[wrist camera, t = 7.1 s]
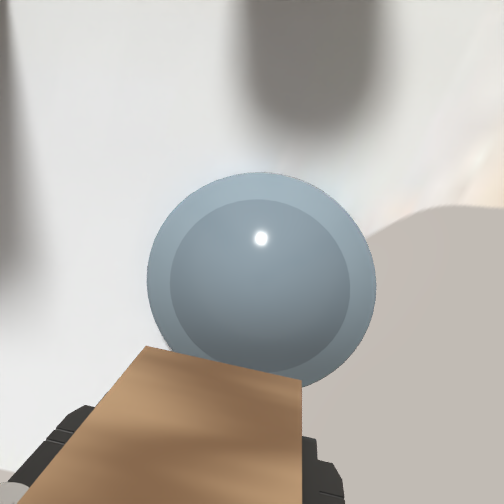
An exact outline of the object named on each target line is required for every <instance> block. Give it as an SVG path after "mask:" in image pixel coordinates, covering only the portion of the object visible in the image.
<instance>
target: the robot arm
mask: <svg viewBox="0 0 504 504" xmlns="http://www.w3.org/2000/svg"><path fill="white" fill-rule="evenodd" d="M107 393H108V392H107ZM107 393H106V394H107ZM106 394H105V395H106ZM103 398H104V397H103ZM103 398H102V399H103ZM102 399H101V400H102ZM98 404H99V403H98ZM98 404H97V405H98ZM97 405H96V406H97ZM94 408H95V407H92V406H87V405H84V406H82V407H81V408H79V409H77V410H75V411H73V412H72V413H70V414H68V415H67V416H66V417H65V418H64V419H63V421H62V422H61V423H60V424H59V425H58V426H57V427H56V430H54V431H53V432H52V433H51V434H50V435H49V436H48V437H47V439H46V441H44V442H43V443H42V444H41V445H40V446H39V447H38V448H37V449H36V451H35V452H34V453H33V454H32V455H31V456H30V457H29V458H28V459H27V461H26V462H25V463H24V464H23V465H22V466H21V467H20V468H19V469H18V470H17V472H16V473H15V474H14V475H13V476H12V477H11V478H10V479H9V480H8V482H5V483H0V504H17V503H18V501H19V500H20V499H21V498H22V496H23V495H24V494H25V493H26V492H27V490H28V489H29V488H30V487H31V485H32V484H33V483H34V482H35V481H36V479H37V478H38V477H39V476H40V474H41V473H42V472H43V471H44V470H45V468H46V467H47V466H48V465H49V463H50V462H51V461H52V460H53V459H54V457H55V456H56V455H57V454H58V452H59V451H60V450H61V449H62V448H63V446H64V445H65V444H66V443H67V441H68V440H69V439H70V438H71V437H72V435H73V434H74V433H75V432H76V430H77V429H78V428H79V427H80V426H81V424H82V423H83V422H84V421H85V419H86V418H87V417H88V416H89V415H90V413H91V412H92V411H93V410H94ZM302 504H345V500H344V491H343V483H342V479H341V477H340V475H339V474H338V472H337V470H336V468H335V467H334V465H333V463H329V462H324V461H320V460H317V443H316V439H313V438H309V437H304V436H302Z"/></svg>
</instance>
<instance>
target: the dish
mask: <svg viewBox="0 0 504 504" xmlns="http://www.w3.org/2000/svg"><path fill="white" fill-rule="evenodd" d="M147 290H148V298H149V303H150V307H151V311H152V314H153V317H154V319H155V322H156V324H157V326H158V328H159V330H160V332H161V334H162V336H163V337H164V339H165V340H166V342H167V343H168V345H169V346H170V347H171V349H172V350H173V351H174V352H176V353H181V354H185V355H190V356H194V357H199V358H203V359H208V360H212V361H217V362H221V363H226V364H230V365H235V366H239V367H244V368H248V369H253V370H257V371H262V372H266V373H271V374H275V375H280V376H284V377H289V378H293V379H298V380H302V387H305V386H308V385H310V384H312V383H314V382H317V381H318V380H321V379H322V378H324V377H326V376H327V375H329V374H330V373H332V372H333V371H334V370H336V369H337V368H338V367H339V366H341V365H342V364H343V363H344V362H345V361H346V360H347V359H348V358H349V357H350V355H351V354H352V353H353V352H354V351H355V349H356V347H357V346H358V345H359V343H360V342H361V341H362V339H363V336H364V335H365V333H366V330H367V328H368V326H369V323H370V321H371V317H372V315H373V309H374V304H375V299H376V276H375V268H374V264H373V260H372V255H371V253H370V250H369V248H368V245H367V242H366V240H365V238H364V236H363V235H362V233H361V231H360V229H359V227H358V226H357V225H356V223H355V222H354V221H353V219H352V218H351V217H350V215H349V214H348V213H347V212H346V211H345V210H344V209H343V208H342V207H341V206H340V205H339V204H338V203H337V202H336V201H335V200H334V199H333V198H332V197H330V196H329V195H328V194H326V193H325V192H324V191H322V190H320V189H318V188H317V187H315V186H313V185H311V184H310V183H307V182H305V181H302V180H300V179H297V178H294V177H290V176H286V175H282V174H276V173H267V172H255V173H244V174H238V175H233V176H230V177H226V178H223V179H219V180H216V181H214V182H212V183H210V184H208V185H205V186H203V187H202V188H200V189H198V190H197V191H195V192H194V193H192V194H190V195H189V196H188V197H187V198H186V199H184V200H183V201H182V202H181V203H180V204H179V205H178V206H177V207H176V208H175V209H174V210H173V211H172V212H171V213H170V215H169V216H168V217H167V219H166V220H165V222H164V223H163V225H162V226H161V228H160V230H159V232H158V234H157V236H156V238H155V240H154V243H153V246H152V249H151V252H150V256H149V262H148V267H147Z"/></svg>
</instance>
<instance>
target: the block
mask: <svg viewBox="0 0 504 504" xmlns="http://www.w3.org/2000/svg"><path fill="white" fill-rule="evenodd" d="M17 504H302V380H298V379H293V378H289V377H284V376H280V375H275V374H271V373H266V372H262V371H257V370H253V369H248V368H244V367H239V366H235V365H230V364H226V363H221V362H217V361H212V360H208V359H203V358H199V357H194V356H190V355H185V354H181V353H176V352H172V351H167V350H163V349H158V348H154V347H149V346H145V347H144V349H143V350H142V351H141V352H140V354H139V355H138V356H137V357H136V358H135V360H134V361H133V362H132V363H131V365H130V366H129V367H128V368H127V369H126V371H125V372H124V373H123V374H122V376H121V377H120V378H119V379H118V380H117V382H116V383H115V384H114V385H113V387H112V388H111V389H110V390H109V391H108V393H107V394H106V395H105V396H104V398H103V399H102V400H101V401H100V402H99V404H98V405H97V406H96V407H95V408H94V410H93V411H92V412H91V413H90V415H89V416H88V417H87V418H86V419H85V421H84V422H83V423H82V424H81V426H80V427H79V428H78V429H77V430H76V432H75V433H74V434H73V435H72V437H71V438H70V439H69V440H68V441H67V443H66V444H65V445H64V446H63V448H62V449H61V450H60V451H59V452H58V454H57V455H56V456H55V457H54V459H53V460H52V461H51V462H50V463H49V465H48V466H47V467H46V468H45V470H44V471H43V472H42V473H41V474H40V476H39V477H38V478H37V479H36V481H35V482H34V483H33V484H32V485H31V487H30V488H29V489H28V490H27V492H26V493H25V494H24V495H23V496H22V498H21V499H20V500H19V501H18V503H17Z"/></svg>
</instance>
